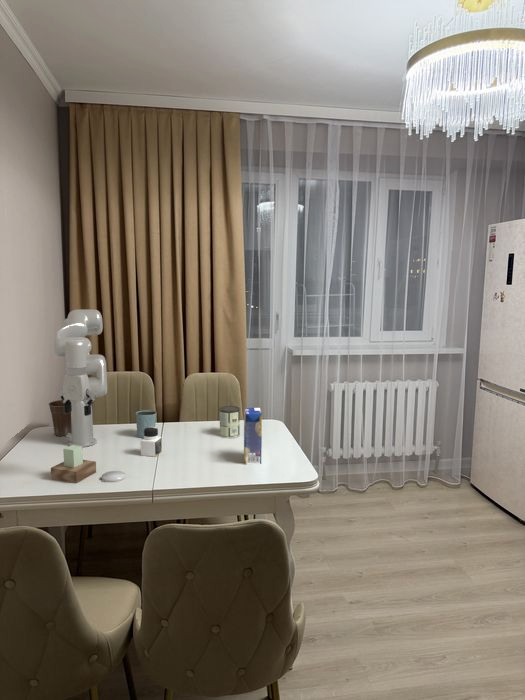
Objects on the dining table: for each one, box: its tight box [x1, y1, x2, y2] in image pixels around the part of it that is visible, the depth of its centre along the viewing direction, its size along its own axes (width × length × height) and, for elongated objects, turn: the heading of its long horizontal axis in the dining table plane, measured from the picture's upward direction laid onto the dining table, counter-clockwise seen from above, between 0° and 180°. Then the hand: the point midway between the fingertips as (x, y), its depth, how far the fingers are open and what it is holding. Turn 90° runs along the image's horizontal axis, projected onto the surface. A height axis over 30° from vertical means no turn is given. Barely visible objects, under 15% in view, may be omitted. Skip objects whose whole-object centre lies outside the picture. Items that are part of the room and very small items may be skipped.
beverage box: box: [243, 407, 263, 465], centre depth 223 cm, size 7×11×22 cm, turn 6°
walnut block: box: [50, 459, 97, 484], centre depth 204 cm, size 12×12×5 cm
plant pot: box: [48, 399, 72, 437], centre depth 259 cm, size 16×16×16 cm
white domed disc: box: [101, 470, 127, 483], centre depth 203 cm, size 9×9×2 cm
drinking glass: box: [135, 409, 157, 439], centre depth 257 cm, size 10×10×12 cm
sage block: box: [62, 445, 84, 468], centre depth 203 cm, size 5×5×7 cm
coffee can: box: [219, 405, 241, 439], centre depth 259 cm, size 10×10×14 cm
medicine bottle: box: [140, 426, 163, 458], centre depth 230 cm, size 7×7×12 cm
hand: (78, 413), depth 205 cm, fingers open, 9 cm apart
